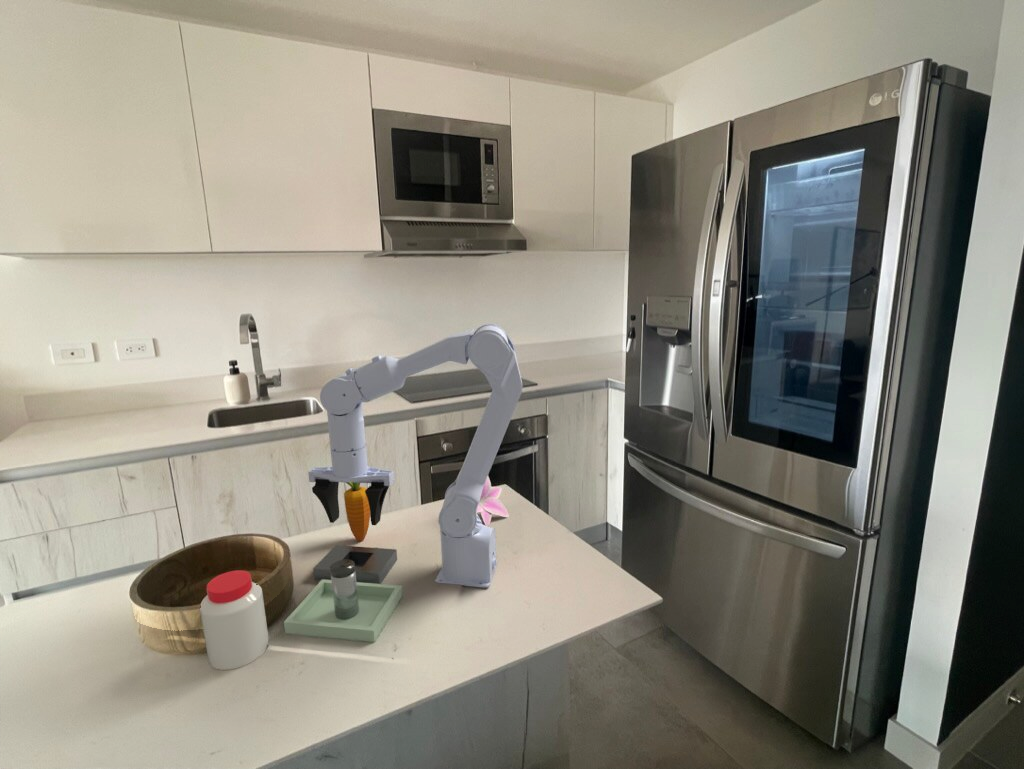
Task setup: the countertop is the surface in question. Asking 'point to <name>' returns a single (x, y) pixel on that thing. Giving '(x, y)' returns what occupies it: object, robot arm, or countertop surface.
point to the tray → (366, 626)
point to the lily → (491, 502)
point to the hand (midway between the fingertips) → (355, 521)
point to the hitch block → (359, 563)
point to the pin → (344, 589)
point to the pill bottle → (234, 620)
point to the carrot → (357, 510)
